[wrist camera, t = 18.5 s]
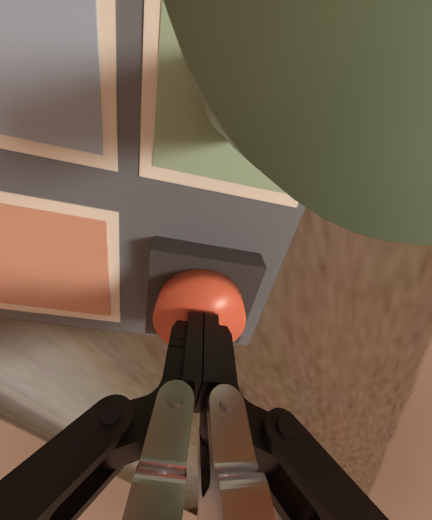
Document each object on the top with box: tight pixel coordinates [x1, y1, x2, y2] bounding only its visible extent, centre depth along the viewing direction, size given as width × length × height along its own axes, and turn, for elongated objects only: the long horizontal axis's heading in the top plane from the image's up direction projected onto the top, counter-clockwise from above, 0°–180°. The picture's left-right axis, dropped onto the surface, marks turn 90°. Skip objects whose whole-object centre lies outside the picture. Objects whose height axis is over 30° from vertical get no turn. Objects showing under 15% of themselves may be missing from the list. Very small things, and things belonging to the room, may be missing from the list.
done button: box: [153, 269, 246, 344], centre depth 13 cm, size 5×5×3 cm
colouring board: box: [0, 0, 305, 346], centre depth 11 cm, size 20×18×2 cm
